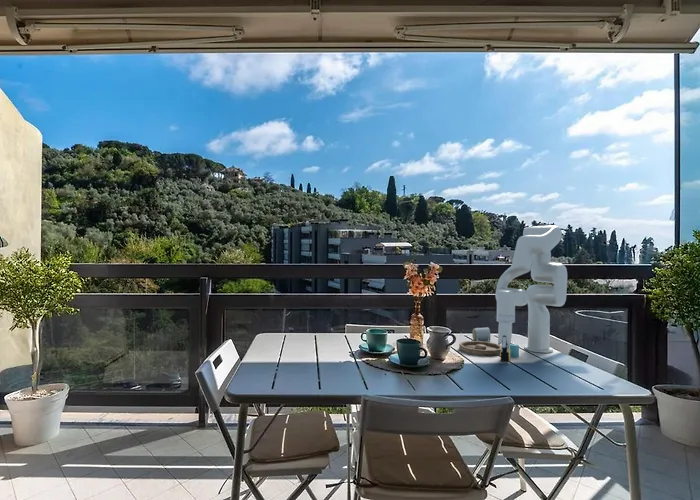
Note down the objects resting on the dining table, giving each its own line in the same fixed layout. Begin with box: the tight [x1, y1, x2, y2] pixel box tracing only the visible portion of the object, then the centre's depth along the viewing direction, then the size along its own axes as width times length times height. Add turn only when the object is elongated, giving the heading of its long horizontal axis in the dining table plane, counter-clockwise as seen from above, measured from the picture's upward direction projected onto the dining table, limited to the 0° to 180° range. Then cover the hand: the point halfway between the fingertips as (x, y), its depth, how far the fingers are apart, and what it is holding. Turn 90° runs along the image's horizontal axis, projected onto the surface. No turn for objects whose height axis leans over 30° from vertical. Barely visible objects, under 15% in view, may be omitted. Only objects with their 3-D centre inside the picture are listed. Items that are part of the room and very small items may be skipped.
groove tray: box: [458, 340, 502, 357], centre depth 197 cm, size 19×19×2 cm
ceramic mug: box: [471, 327, 491, 342], centre depth 215 cm, size 11×8×8 cm
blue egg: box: [509, 343, 520, 358], centre depth 188 cm, size 4×4×5 cm
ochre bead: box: [499, 349, 511, 363], centre depth 180 cm, size 4×4×5 cm
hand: (505, 359), depth 180 cm, fingers closed on ochre bead, 3 cm apart
